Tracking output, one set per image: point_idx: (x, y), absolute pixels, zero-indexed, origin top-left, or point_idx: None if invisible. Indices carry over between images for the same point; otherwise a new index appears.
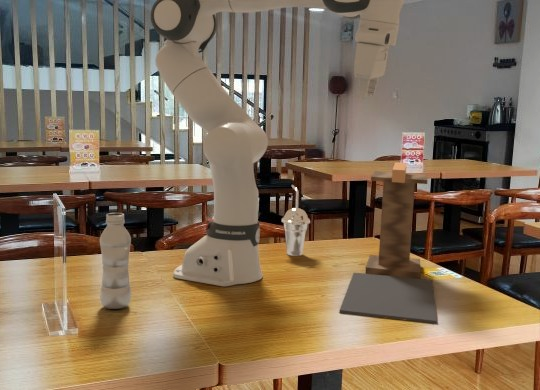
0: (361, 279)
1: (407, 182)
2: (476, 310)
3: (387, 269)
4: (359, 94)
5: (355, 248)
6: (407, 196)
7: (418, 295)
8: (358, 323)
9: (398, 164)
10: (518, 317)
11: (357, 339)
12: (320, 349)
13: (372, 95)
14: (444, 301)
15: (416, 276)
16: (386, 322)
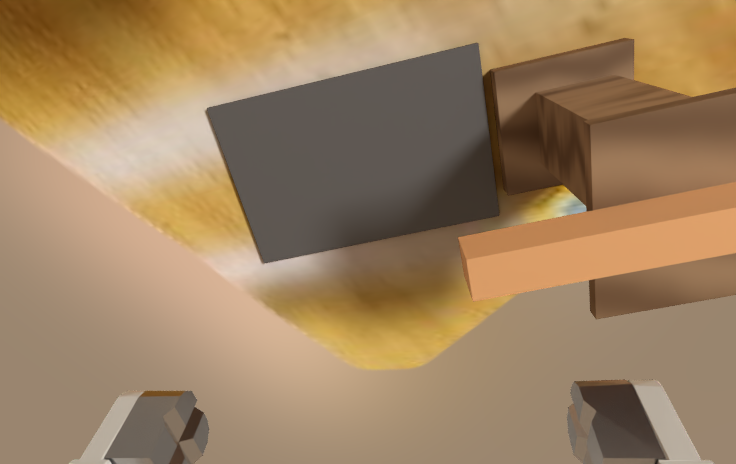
0: (428, 80)
1: None
2: (366, 301)
3: (499, 124)
4: (112, 422)
5: None
6: None
7: (379, 213)
8: (183, 155)
9: (718, 226)
10: (368, 351)
11: (118, 175)
12: (41, 139)
13: (568, 429)
14: (386, 252)
15: (504, 184)
16: (219, 194)
